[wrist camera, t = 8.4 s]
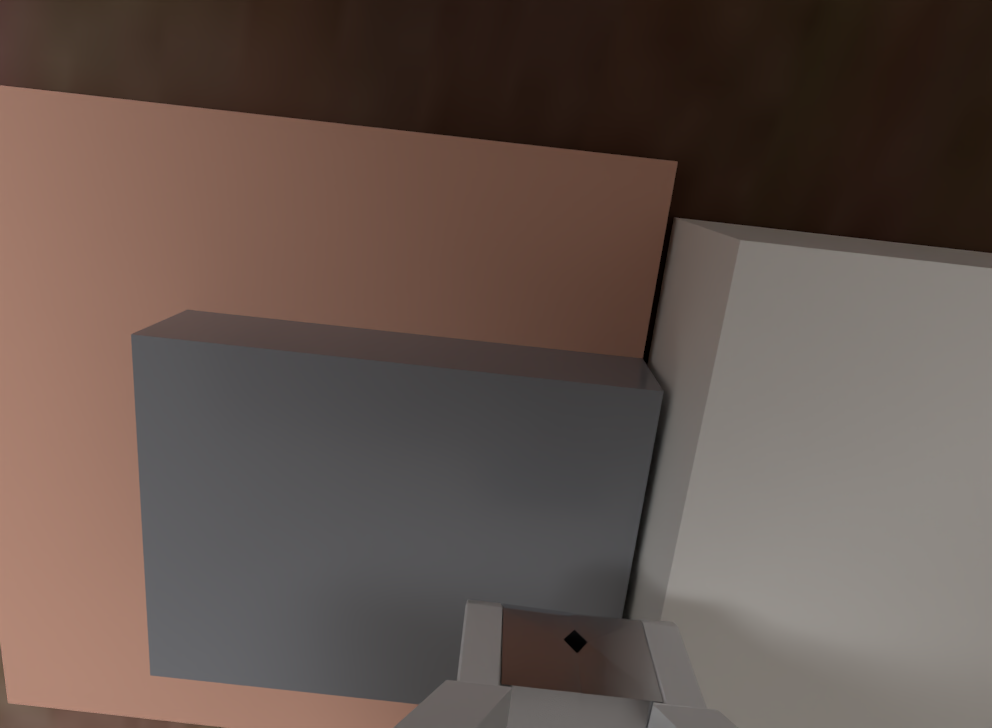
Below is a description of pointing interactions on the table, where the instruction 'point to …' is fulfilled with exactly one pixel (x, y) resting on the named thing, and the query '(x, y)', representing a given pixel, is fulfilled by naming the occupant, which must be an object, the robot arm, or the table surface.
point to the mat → (258, 293)
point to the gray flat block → (373, 496)
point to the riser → (823, 478)
